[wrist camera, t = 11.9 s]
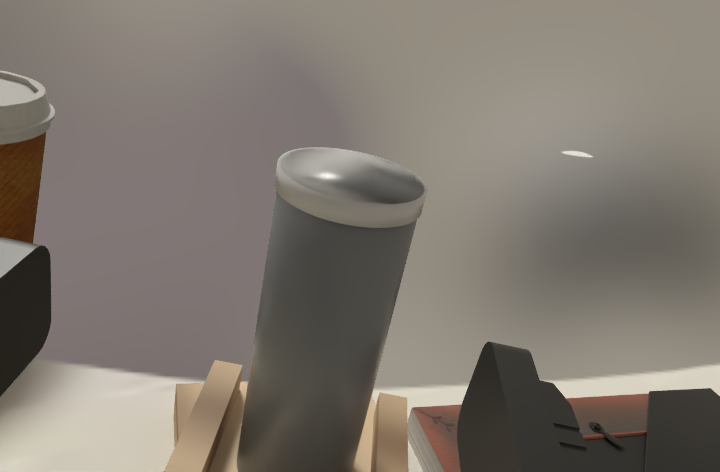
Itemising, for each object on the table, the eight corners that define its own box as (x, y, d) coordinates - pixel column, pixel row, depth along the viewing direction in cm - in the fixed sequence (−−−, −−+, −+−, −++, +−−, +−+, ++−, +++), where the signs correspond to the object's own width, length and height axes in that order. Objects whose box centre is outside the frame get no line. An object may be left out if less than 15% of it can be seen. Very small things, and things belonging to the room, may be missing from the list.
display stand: (152, 631, 22) (158, 566, 21) (153, 415, 31) (157, 360, 30) (449, 583, 26) (471, 526, 25) (372, 404, 35) (385, 355, 34)
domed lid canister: (241, 519, 25) (293, 199, 19) (228, 422, 29) (266, 141, 23) (368, 505, 26) (451, 210, 21) (336, 416, 31) (397, 154, 25)
